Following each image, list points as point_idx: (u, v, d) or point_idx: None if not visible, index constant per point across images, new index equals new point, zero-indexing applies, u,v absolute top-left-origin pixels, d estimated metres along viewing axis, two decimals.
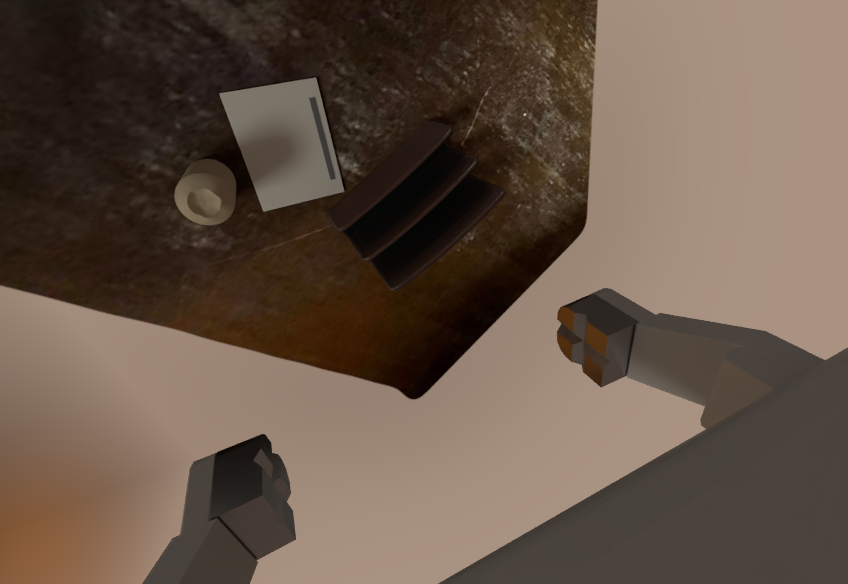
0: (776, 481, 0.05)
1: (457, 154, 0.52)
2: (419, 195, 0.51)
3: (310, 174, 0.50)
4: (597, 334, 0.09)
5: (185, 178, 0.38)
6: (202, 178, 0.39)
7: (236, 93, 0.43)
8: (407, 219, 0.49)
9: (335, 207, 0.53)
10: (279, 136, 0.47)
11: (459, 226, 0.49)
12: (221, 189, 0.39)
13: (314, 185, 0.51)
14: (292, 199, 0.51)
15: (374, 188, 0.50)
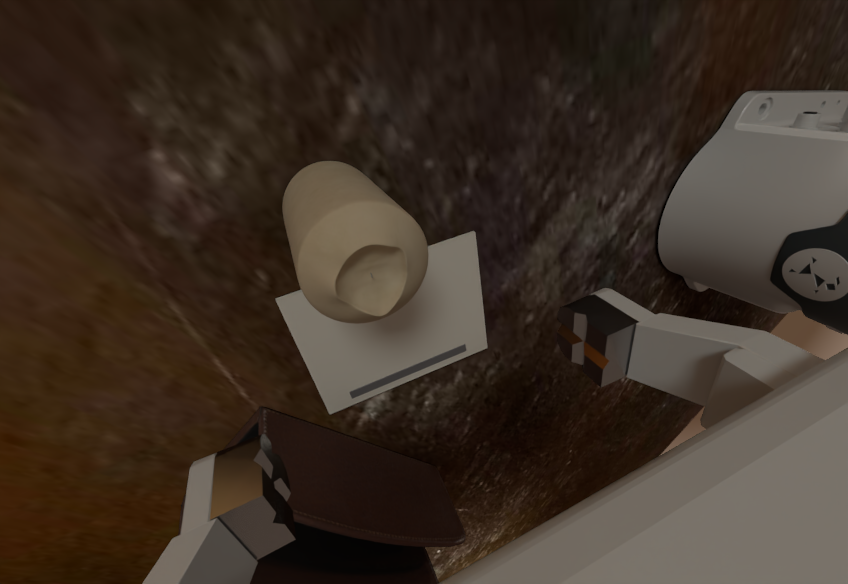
0: (776, 481, 0.05)
1: None
2: (358, 549, 0.29)
3: (356, 363, 0.28)
4: (597, 334, 0.09)
5: (419, 230, 0.16)
6: (422, 267, 0.16)
7: (474, 255, 0.28)
8: None
9: (282, 421, 0.28)
10: (416, 314, 0.28)
11: None
12: (400, 305, 0.16)
13: (337, 372, 0.28)
14: (306, 345, 0.26)
15: (353, 489, 0.27)
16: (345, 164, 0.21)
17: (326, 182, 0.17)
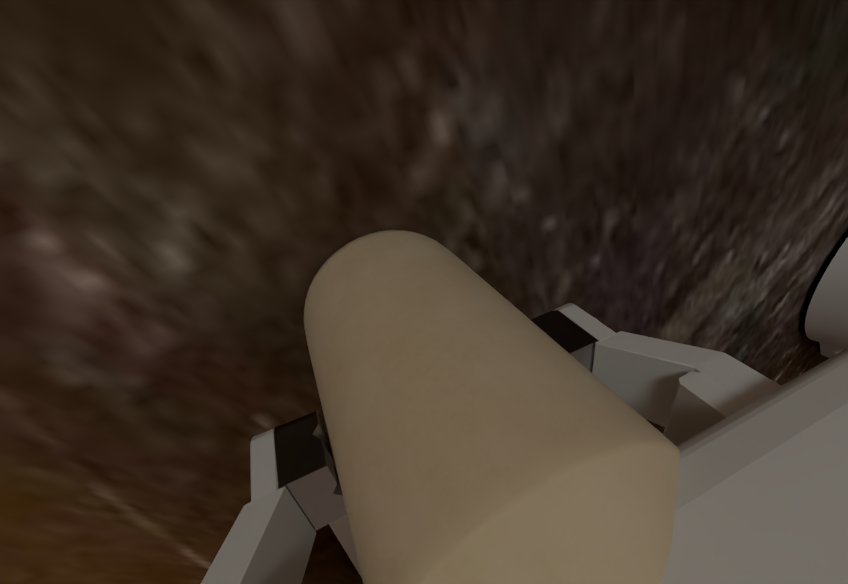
0: (776, 481, 0.05)
1: None
2: None
3: None
4: None
5: None
6: None
7: None
8: None
9: None
10: None
11: None
12: None
13: None
14: None
15: None
16: (423, 239, 0.11)
17: (421, 317, 0.07)
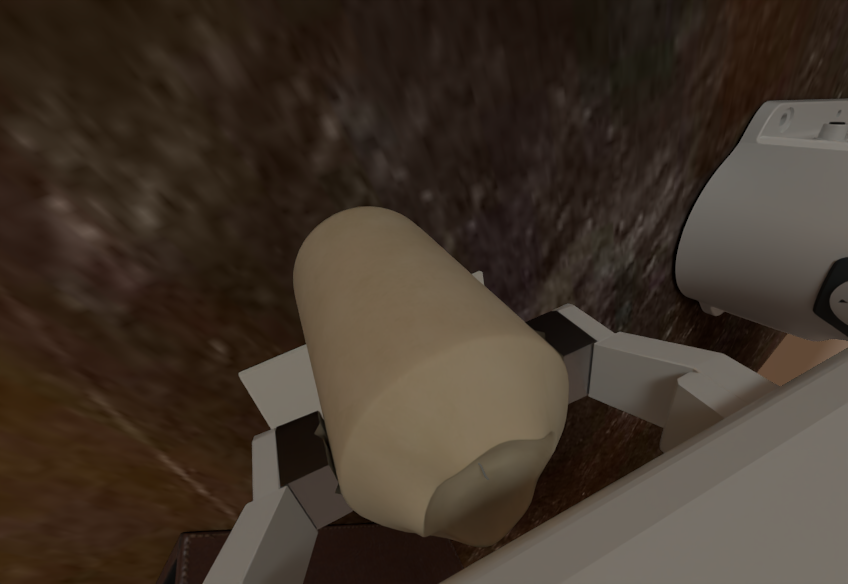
0: (776, 481, 0.05)
1: None
2: None
3: None
4: None
5: (566, 374, 0.08)
6: None
7: None
8: None
9: (214, 545, 0.21)
10: None
11: None
12: None
13: None
14: (281, 424, 0.21)
15: None
16: (396, 214, 0.13)
17: (384, 263, 0.10)
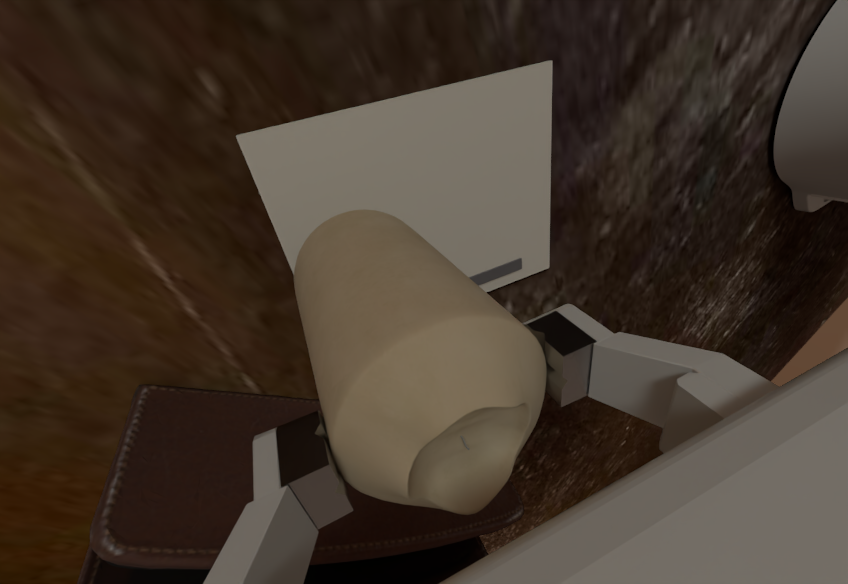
0: (776, 481, 0.05)
1: None
2: None
3: None
4: (554, 353, 0.09)
5: (542, 354, 0.09)
6: (539, 412, 0.10)
7: (547, 104, 0.18)
8: None
9: (180, 400, 0.17)
10: (457, 197, 0.19)
11: None
12: None
13: None
14: (290, 230, 0.16)
15: None
16: (390, 216, 0.14)
17: (376, 257, 0.11)
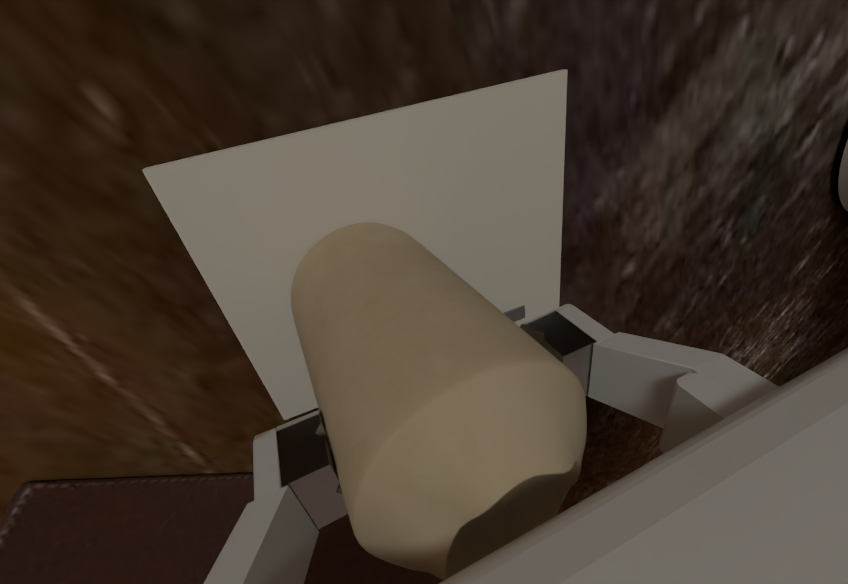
0: (776, 481, 0.05)
1: None
2: None
3: None
4: (554, 354, 0.09)
5: (584, 396, 0.08)
6: None
7: (559, 124, 0.14)
8: None
9: (72, 499, 0.14)
10: (444, 239, 0.15)
11: None
12: None
13: (294, 343, 0.15)
14: (226, 283, 0.13)
15: None
16: (396, 230, 0.13)
17: (390, 284, 0.09)
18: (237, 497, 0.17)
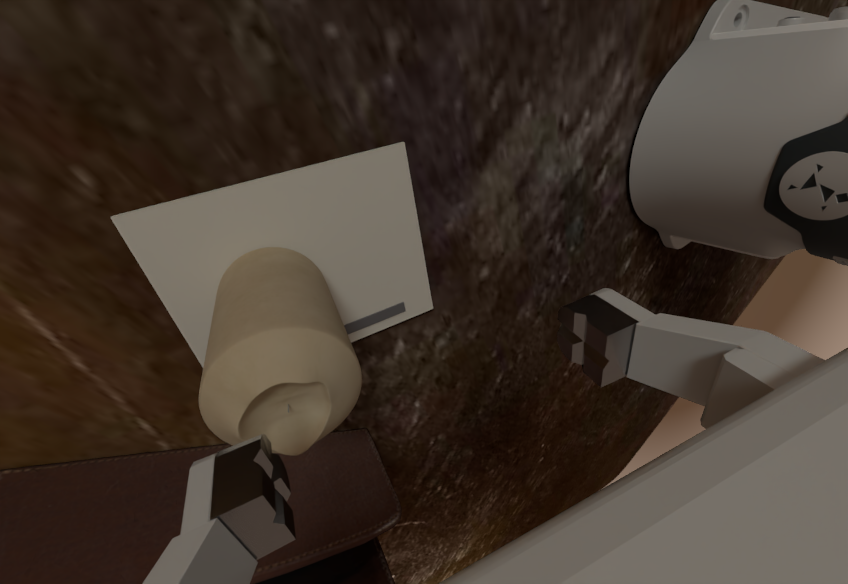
0: (776, 481, 0.05)
1: None
2: None
3: None
4: (597, 334, 0.09)
5: (349, 353, 0.14)
6: (352, 392, 0.14)
7: (406, 176, 0.21)
8: None
9: (34, 478, 0.19)
10: (332, 255, 0.22)
11: None
12: (325, 435, 0.14)
13: None
14: (171, 291, 0.19)
15: (161, 532, 0.18)
16: (289, 252, 0.19)
17: (254, 287, 0.15)
18: (171, 466, 0.22)
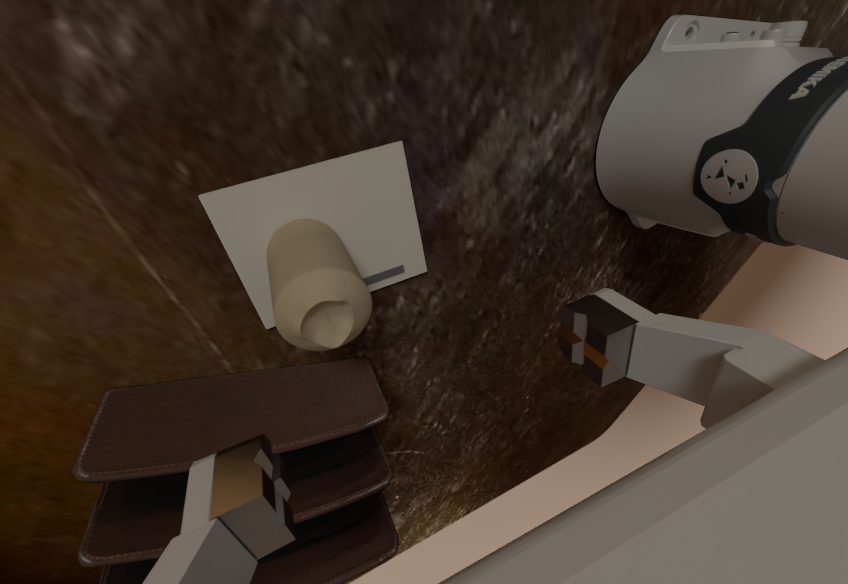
0: (776, 481, 0.05)
1: (370, 430, 0.34)
2: None
3: None
4: (597, 334, 0.09)
5: (363, 284, 0.22)
6: (366, 310, 0.22)
7: (403, 166, 0.28)
8: None
9: (130, 394, 0.28)
10: (348, 226, 0.29)
11: (299, 572, 0.27)
12: (351, 338, 0.22)
13: None
14: (235, 249, 0.27)
15: (213, 423, 0.27)
16: (315, 222, 0.27)
17: (297, 246, 0.23)
18: (218, 385, 0.30)
